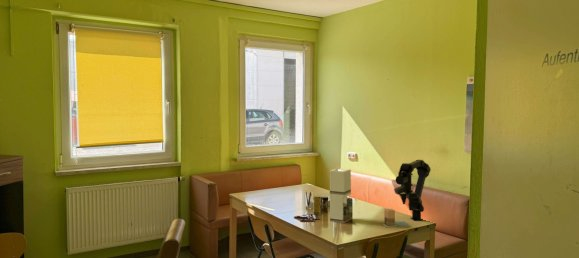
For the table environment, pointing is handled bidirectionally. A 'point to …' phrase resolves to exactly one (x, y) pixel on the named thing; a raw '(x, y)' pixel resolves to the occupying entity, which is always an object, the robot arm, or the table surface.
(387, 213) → the terracotta cube
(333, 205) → the cream tall block
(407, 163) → the robot arm
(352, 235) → the table surface
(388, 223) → the walnut cube
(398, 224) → the plan board
